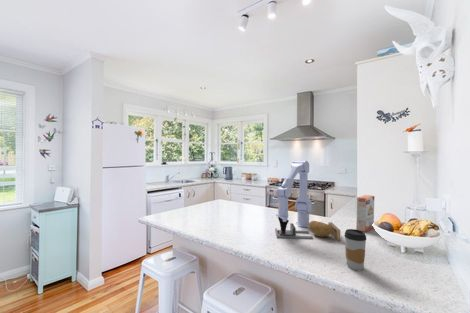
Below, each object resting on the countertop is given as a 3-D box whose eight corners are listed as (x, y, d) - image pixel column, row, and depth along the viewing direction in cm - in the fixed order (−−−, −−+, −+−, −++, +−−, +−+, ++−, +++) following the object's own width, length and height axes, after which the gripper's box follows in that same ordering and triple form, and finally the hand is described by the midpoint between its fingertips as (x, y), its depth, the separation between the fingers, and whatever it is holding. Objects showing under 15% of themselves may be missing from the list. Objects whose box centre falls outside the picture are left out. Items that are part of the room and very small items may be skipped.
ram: (278, 231, 139) (278, 220, 139) (292, 231, 138) (292, 221, 138) (280, 236, 130) (280, 225, 130) (295, 237, 129) (295, 225, 129)
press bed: (275, 230, 142) (275, 221, 142) (331, 232, 139) (331, 222, 139) (277, 238, 128) (277, 228, 128) (340, 240, 125) (340, 230, 125)
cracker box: (366, 232, 138) (366, 198, 137) (356, 230, 142) (356, 197, 142) (374, 227, 147) (374, 195, 146) (364, 225, 151) (364, 194, 151)
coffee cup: (358, 262, 101) (359, 228, 100) (370, 271, 92) (371, 235, 92) (340, 262, 100) (340, 228, 100) (350, 272, 92) (350, 235, 92)
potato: (328, 241, 124) (328, 227, 124) (305, 234, 134) (305, 221, 134) (336, 237, 130) (336, 223, 130) (314, 230, 141) (314, 218, 141)
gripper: (275, 204, 142) (275, 226, 142) (277, 210, 127) (277, 234, 127) (286, 204, 141) (286, 226, 141) (290, 210, 127) (290, 234, 127)
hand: (283, 230), depth 134 cm, fingers closed on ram, 3 cm apart
